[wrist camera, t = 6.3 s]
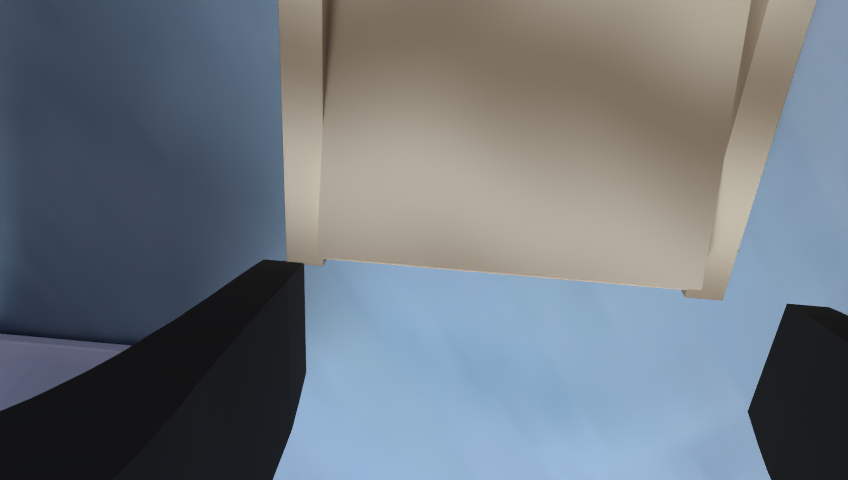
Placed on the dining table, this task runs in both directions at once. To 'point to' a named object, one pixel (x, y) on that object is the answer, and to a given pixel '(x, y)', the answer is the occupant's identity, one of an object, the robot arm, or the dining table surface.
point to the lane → (533, 133)
